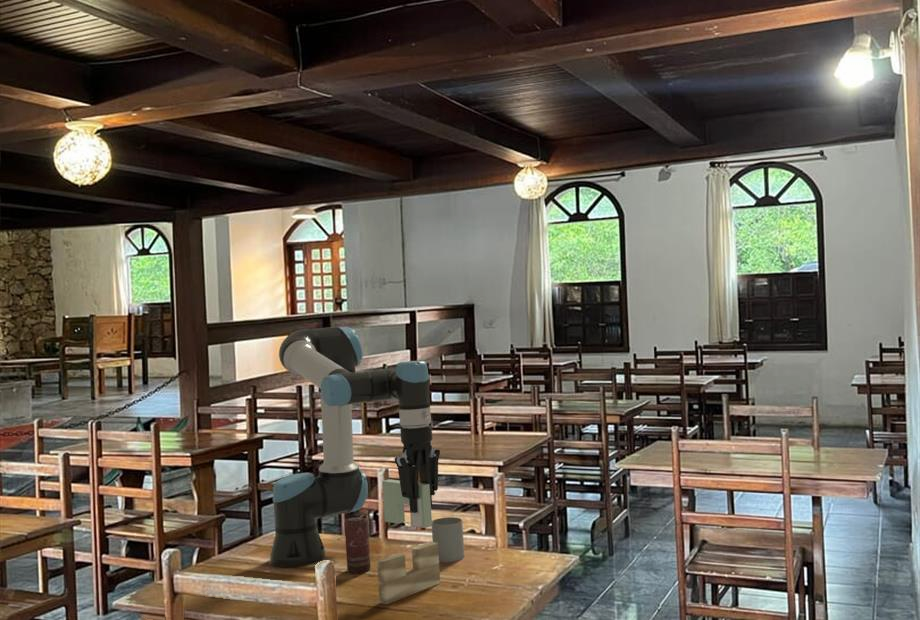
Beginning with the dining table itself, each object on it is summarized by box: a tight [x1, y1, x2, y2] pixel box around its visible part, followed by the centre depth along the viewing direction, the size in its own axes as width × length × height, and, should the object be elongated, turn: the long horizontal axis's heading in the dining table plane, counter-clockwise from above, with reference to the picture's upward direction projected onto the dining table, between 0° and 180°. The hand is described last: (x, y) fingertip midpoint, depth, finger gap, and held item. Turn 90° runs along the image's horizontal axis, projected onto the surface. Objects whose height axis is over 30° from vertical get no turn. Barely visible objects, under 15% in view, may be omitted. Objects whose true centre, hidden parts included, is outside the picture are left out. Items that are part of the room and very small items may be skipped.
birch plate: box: [376, 541, 441, 605], centre depth 204 cm, size 2×18×10 cm, turn 137°
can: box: [344, 514, 371, 575], centre depth 225 cm, size 6×6×14 cm
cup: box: [431, 516, 465, 563], centre depth 231 cm, size 8×8×10 cm
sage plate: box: [381, 478, 433, 529], centre depth 205 cm, size 14×2×10 cm, turn 48°
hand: (422, 524), depth 202 cm, fingers closed on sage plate, 2 cm apart
